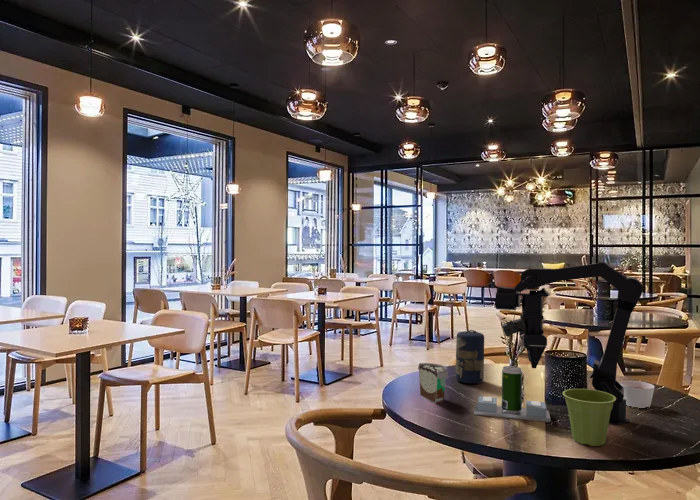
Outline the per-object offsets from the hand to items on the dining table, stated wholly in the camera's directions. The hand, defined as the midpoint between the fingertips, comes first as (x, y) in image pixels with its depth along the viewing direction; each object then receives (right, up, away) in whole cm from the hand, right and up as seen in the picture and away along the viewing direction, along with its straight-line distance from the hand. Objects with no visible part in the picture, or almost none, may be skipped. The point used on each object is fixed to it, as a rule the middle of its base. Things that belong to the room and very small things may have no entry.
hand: (532, 364), depth 150 cm
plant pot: (+5, -13, -25) cm, 29 cm away
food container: (-27, -13, +8) cm, 31 cm away
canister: (-12, -13, +29) cm, 34 cm away
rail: (-8, -13, -6) cm, 16 cm away
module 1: (-14, -12, -4) cm, 19 cm away
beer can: (-8, -12, -6) cm, 15 cm away
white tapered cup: (+33, -13, +4) cm, 35 cm away
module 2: (-2, -13, -7) cm, 15 cm away
